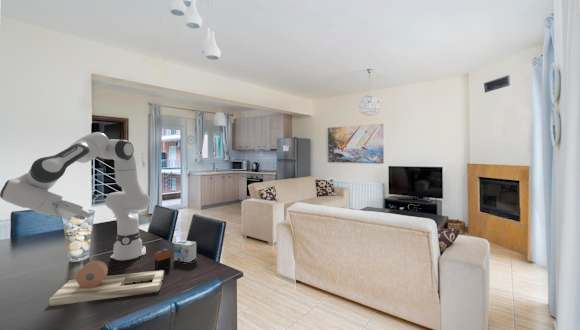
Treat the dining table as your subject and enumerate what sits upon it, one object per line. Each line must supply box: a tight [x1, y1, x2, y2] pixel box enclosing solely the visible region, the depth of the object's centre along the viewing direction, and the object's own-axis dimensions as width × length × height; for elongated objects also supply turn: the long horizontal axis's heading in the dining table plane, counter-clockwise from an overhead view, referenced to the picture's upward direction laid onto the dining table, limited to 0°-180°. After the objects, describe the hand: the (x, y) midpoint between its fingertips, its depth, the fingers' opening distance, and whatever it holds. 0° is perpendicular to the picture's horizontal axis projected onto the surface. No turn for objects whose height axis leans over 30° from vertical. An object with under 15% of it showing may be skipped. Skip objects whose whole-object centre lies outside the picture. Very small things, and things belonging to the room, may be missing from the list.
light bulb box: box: [173, 239, 197, 262], centre depth 156 cm, size 11×7×11 cm, turn 71°
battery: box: [154, 248, 171, 271], centre depth 145 cm, size 4×7×10 cm, turn 146°
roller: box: [75, 259, 109, 288], centre depth 119 cm, size 6×10×10 cm, turn 108°
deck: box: [48, 269, 165, 307], centre depth 122 cm, size 17×40×3 cm, turn 108°
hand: (87, 217), depth 120 cm, fingers open, 8 cm apart
